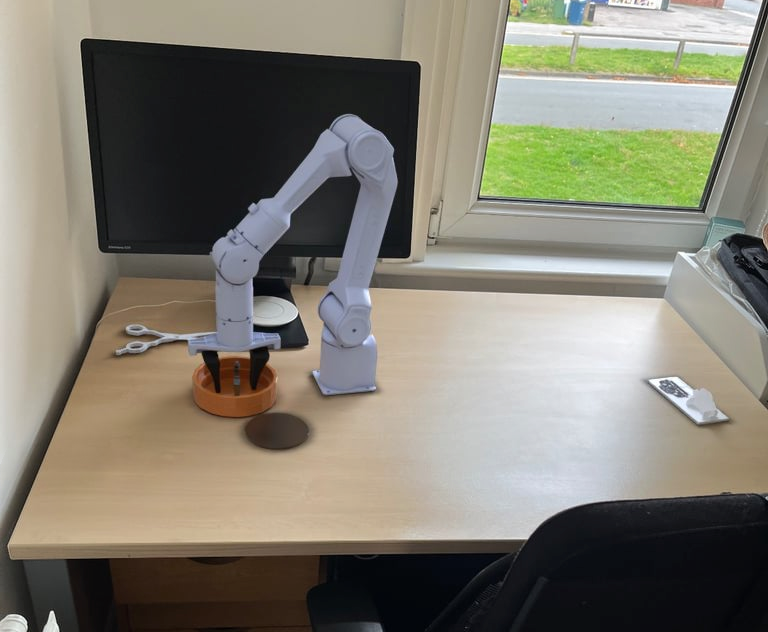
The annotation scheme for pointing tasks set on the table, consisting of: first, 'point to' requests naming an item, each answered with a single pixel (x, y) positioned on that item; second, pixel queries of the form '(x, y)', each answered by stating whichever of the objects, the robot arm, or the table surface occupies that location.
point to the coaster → (276, 431)
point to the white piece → (689, 400)
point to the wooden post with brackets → (236, 379)
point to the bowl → (226, 401)
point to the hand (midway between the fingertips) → (235, 388)
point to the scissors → (144, 345)
